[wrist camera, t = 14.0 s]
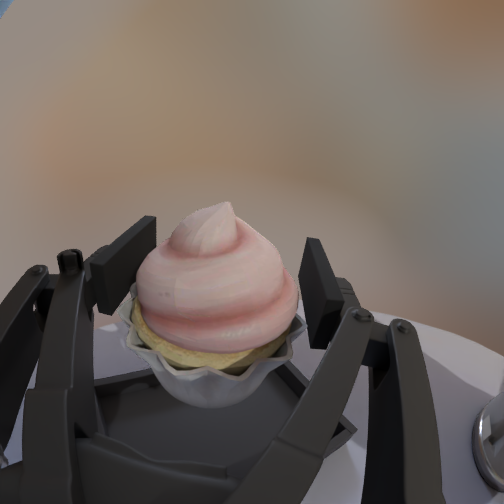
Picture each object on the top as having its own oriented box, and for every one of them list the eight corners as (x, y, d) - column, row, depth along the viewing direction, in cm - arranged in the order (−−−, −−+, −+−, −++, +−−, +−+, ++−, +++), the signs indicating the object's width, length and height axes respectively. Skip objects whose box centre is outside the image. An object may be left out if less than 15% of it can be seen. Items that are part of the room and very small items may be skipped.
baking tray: (261, 351, 31) (265, 334, 29) (346, 442, 20) (357, 429, 19) (92, 397, 20) (84, 381, 19) (143, 535, 10) (134, 533, 8)
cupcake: (276, 452, 11) (355, 281, 6) (105, 398, 12) (54, 219, 7) (293, 335, 19) (328, 197, 15) (170, 306, 20) (171, 172, 16)
